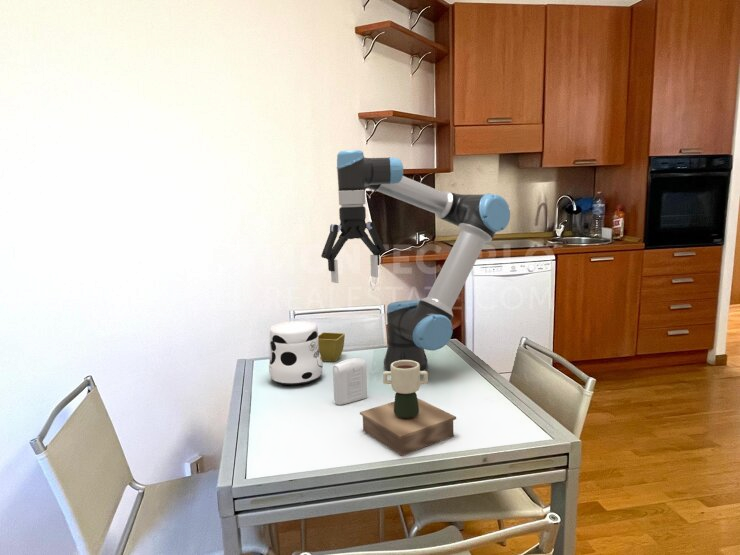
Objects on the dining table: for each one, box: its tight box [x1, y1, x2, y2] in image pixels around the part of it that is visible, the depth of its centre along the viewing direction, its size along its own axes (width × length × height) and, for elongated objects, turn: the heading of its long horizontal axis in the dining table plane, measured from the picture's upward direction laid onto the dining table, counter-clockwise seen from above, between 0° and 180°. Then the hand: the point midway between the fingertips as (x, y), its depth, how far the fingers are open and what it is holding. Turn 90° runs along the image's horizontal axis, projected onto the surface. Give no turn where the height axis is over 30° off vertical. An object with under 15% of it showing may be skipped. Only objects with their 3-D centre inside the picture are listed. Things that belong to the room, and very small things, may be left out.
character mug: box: [382, 360, 429, 418], centre depth 128 cm, size 11×7×13 cm, turn 85°
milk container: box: [268, 320, 323, 386], centre depth 169 cm, size 17×17×18 cm
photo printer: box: [332, 357, 368, 406], centre depth 151 cm, size 10×4×12 cm, turn 123°
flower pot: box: [318, 332, 346, 362], centre depth 189 cm, size 9×9×9 cm
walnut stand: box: [359, 397, 457, 456], centre depth 129 cm, size 17×17×5 cm
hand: (355, 279), depth 152 cm, fingers open, 13 cm apart
